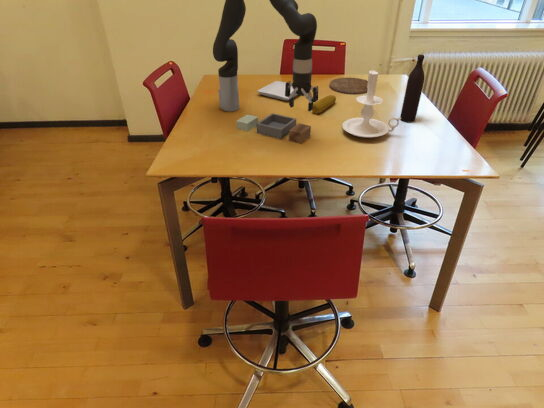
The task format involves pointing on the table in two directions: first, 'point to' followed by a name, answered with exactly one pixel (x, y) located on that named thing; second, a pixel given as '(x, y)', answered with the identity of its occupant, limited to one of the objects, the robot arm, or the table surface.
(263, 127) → the tray
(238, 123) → the sage carton
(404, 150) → the table surface
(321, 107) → the food
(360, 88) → the trivet
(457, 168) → the table surface
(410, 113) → the wine bottle
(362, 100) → the candlestick
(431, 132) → the table surface
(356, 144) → the table surface
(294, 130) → the walnut block
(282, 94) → the salad plate
